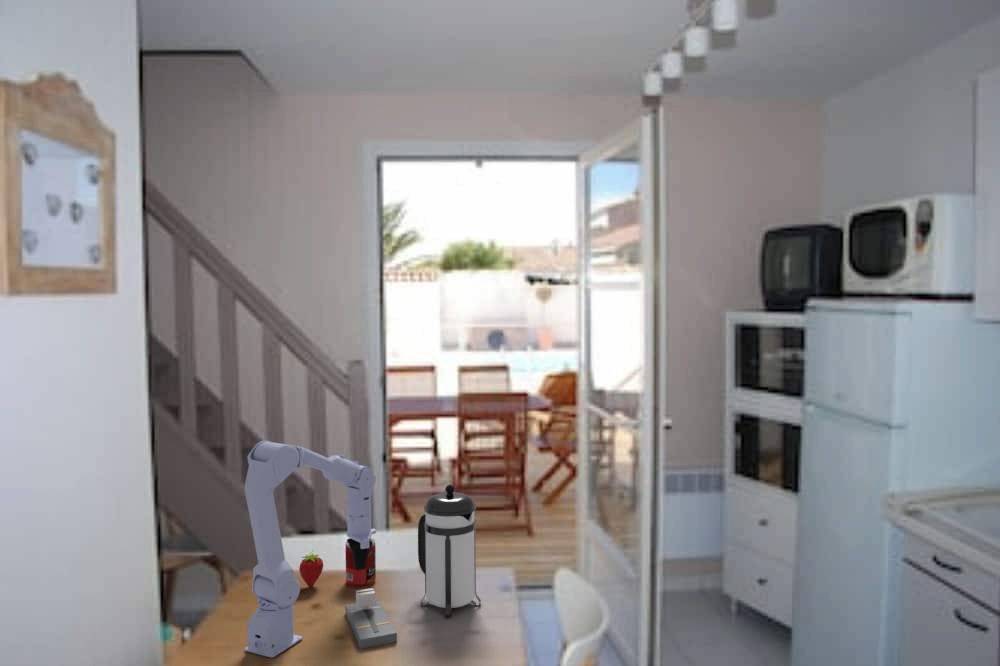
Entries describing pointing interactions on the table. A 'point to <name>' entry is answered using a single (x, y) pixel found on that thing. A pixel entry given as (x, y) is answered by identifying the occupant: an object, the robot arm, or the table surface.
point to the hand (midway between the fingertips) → (359, 568)
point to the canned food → (361, 576)
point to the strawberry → (311, 569)
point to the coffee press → (448, 550)
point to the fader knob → (365, 598)
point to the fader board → (371, 625)
